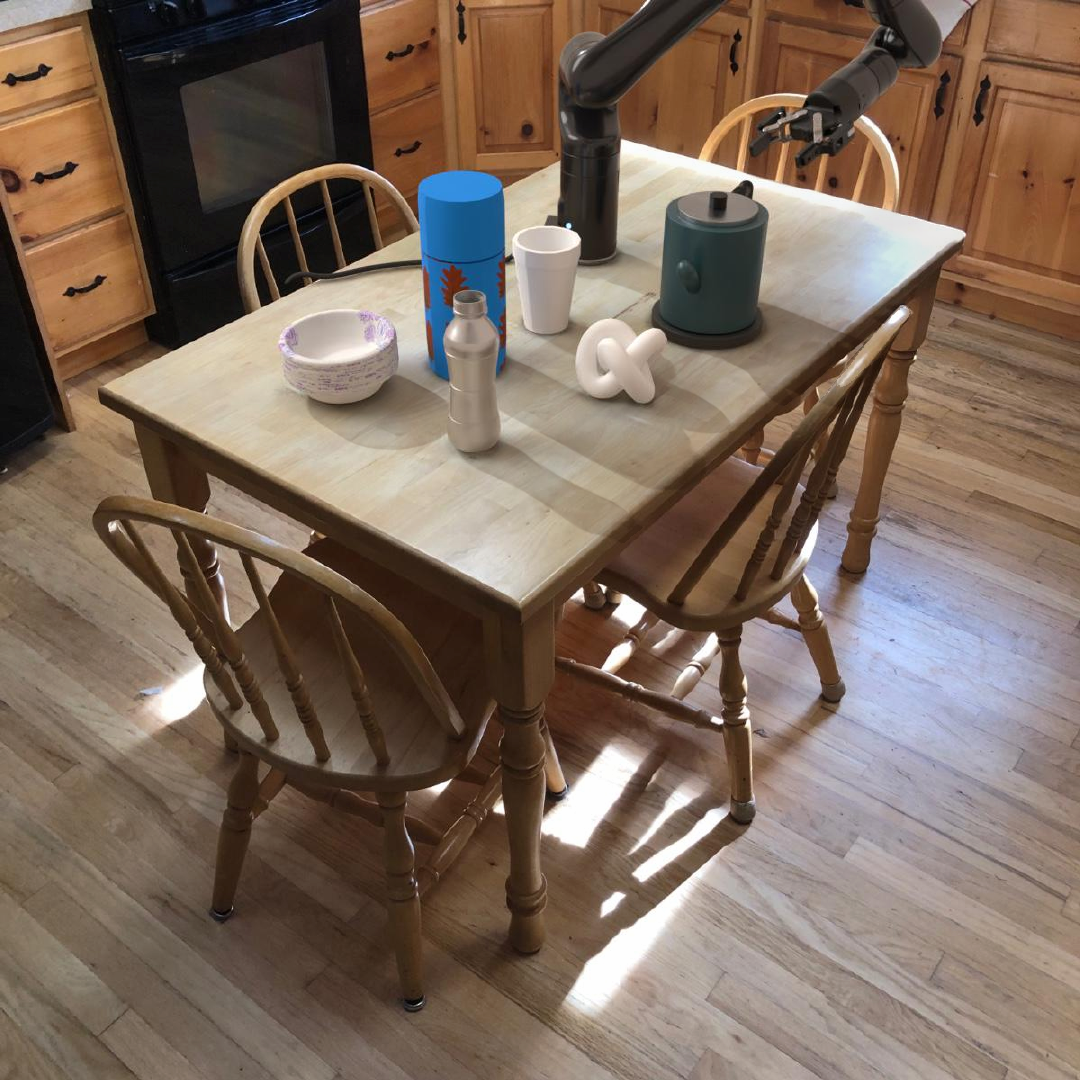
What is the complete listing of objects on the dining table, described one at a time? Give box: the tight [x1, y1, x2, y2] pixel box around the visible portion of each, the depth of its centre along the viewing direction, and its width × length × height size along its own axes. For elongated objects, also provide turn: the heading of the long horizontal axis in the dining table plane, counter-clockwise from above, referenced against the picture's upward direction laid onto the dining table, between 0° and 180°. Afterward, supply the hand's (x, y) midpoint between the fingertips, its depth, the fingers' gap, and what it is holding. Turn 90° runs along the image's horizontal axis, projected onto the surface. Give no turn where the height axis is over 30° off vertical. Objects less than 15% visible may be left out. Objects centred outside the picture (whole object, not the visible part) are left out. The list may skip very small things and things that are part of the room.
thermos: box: [417, 170, 507, 381], centre depth 155 cm, size 11×11×25 cm
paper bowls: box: [277, 308, 400, 405], centre depth 155 cm, size 15×15×8 cm
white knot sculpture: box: [575, 318, 668, 404], centre depth 153 cm, size 11×12×9 cm
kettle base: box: [650, 298, 764, 350], centre depth 172 cm, size 16×16×2 cm
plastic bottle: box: [443, 290, 502, 453], centre depth 140 cm, size 6×7×20 cm
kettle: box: [659, 179, 770, 334], centre depth 166 cm, size 24×14×17 cm, turn 151°
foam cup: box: [511, 225, 581, 335], centre depth 168 cm, size 10×9×13 cm
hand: (774, 157), depth 173 cm, fingers open, 8 cm apart
